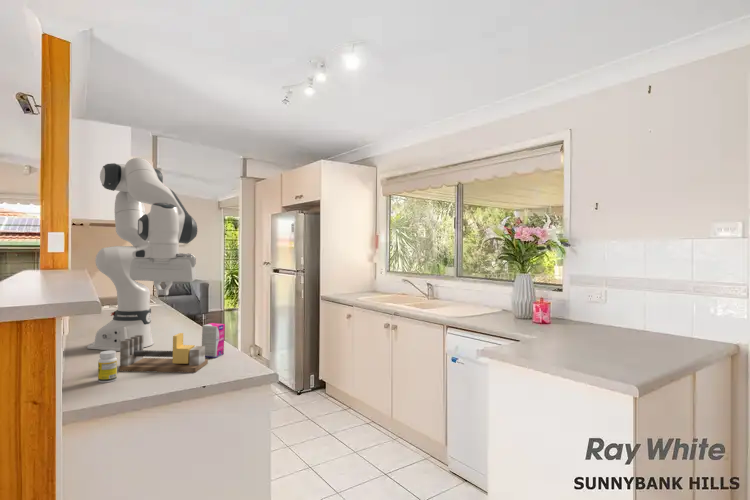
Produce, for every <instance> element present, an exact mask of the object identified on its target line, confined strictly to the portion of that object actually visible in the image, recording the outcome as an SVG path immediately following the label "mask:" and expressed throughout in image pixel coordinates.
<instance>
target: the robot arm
mask: <svg viewBox="0 0 750 500" xmlns="http://www.w3.org/2000/svg"><path fill="white" fill-rule="evenodd" d="M99 178H100V179H99V181H100V183H101V186H102V187H103V188H104V189H106V190H108V191H118V192H117V193H116V195H115V200H114V223H115V233H116V235H117V236H118V237H119V238H120V239H122V240H123V241H126V242H128V243H130V244H131V246H129V245H128V246H127V245H123V246H122V245H114V246H107V247H103V248H101V249H99V251H98V252H97V254H96V256H95V260H94V261H95V266H96V268H97V269H98V271H100V272H101V274H103V275H105V276H107V278H109V280H111V281H112V284H113V285H114V288H115V290H116V295H117V296H116V297H117V298H116V300H117V309H116V310H115V311H113V312H110V315H109V316H111V317H112V316H113V317H112V320H111V321H109V322H107V323H106V324H105V325H103V326H102V327H101V328H99V329H98V330H97V332H95V338H94V341H93V342H91V343H89V344H88V345H87V348H86V349H89V350H99V351H100V350H101V351H110V350H112V351H116V352H120V341H122V340H125V339H131V337H135V335H143V348H146V347H150V346H153V345H154V344H155V342H154V339H153V335H152V328H151V323H152V322H151V321H152V308H151V290H150V289H149V287H148V286H147V285H145V284H143V283H140V282H138V281H144V282H145V281H147V282H153V286H154V287H155V289H156V294H157V296H168V295H169V294H170V289H171V287H172V286H173V283H175V282H176V283H181V282H182V283H192V282H194V281H196V279H197V271H196V270H197V269H196V264H197V262H196V261H197V260H196V259H197V258H196V257H195V256H194V255H193V254H192V253H184V252H183V253H181V252H179V251H180V245H179V244H184V245H185V244H186V245H187V244H189V243H191V242H192V241H194V239H195V238H196V237H197V236H198V225H197V222H196V219H194V218H193V217H192V216H191V215H190V214H189V213H188V211H187V209H186V208H185V206H184V205H183V203H182V201H181V200H180V199H179V197H178V196H177V194H176V193H175V192H174V191H173V190H172V189H171V188H169V187H168V186H166V185H165V184H164V177H163V173H162V171H160V170H159V169H157V168H154V166H153V165H152V163H150V162H149V161H148V160H147V159H145V158H142V157H135V158H134V157H133V158H131V159H128V161H126V163H125V164H119V163H115V162H114V163H106V164H105V165H103V166H102V168H101V170H100V172H99ZM145 204H147V205H151V206H150V211H149V212H148V213H146V206H145ZM162 282H164V284H165V285H166V286H165V288H162V286H161V284H162Z"/></svg>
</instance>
